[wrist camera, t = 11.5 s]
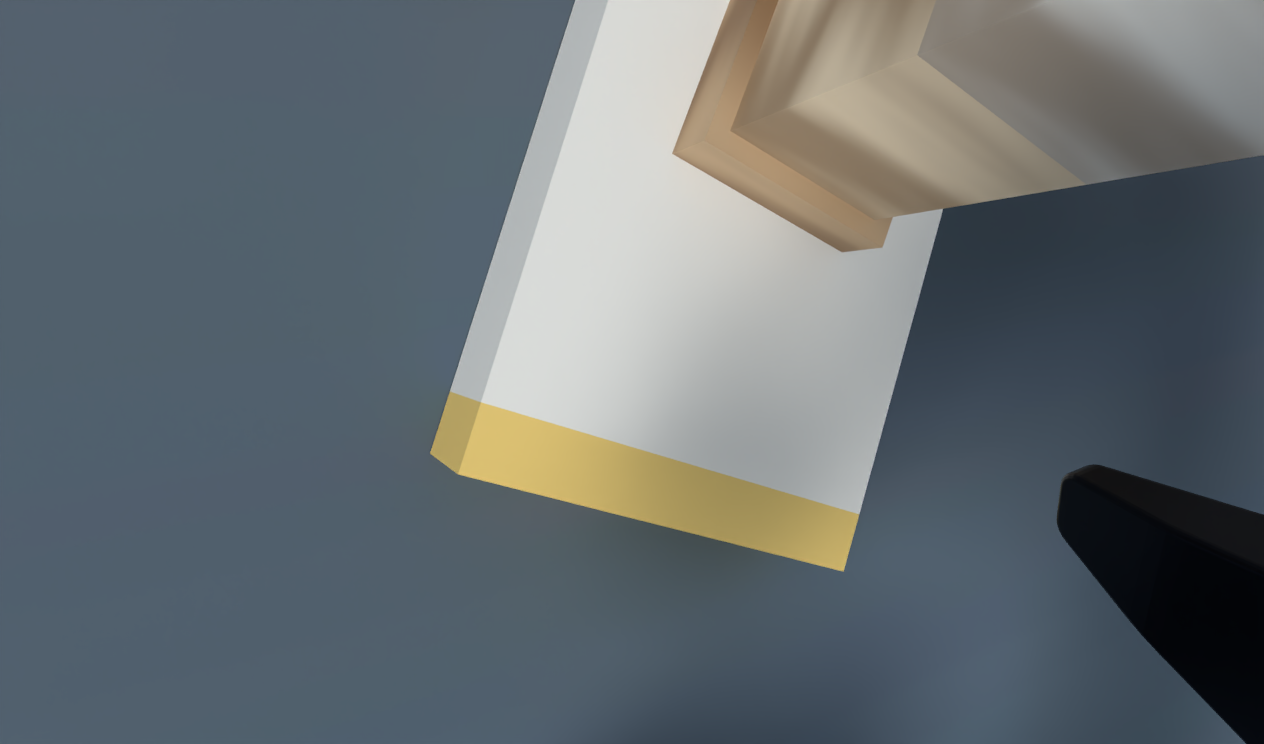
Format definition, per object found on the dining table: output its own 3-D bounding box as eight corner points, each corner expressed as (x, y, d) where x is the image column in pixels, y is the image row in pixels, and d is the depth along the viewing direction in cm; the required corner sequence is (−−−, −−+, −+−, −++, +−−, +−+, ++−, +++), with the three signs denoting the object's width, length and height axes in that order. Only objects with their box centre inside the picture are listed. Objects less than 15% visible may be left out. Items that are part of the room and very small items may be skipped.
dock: (777, 543, 24) (843, 571, 22) (429, 453, 20) (458, 474, 17) (930, 2, 26) (1010, -36, 23) (640, -202, 21) (697, -280, 18)
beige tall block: (842, 252, 21) (1525, 169, 10) (672, 153, 19) (1307, -105, 7) (906, 66, 22) (1621, -216, 10) (749, -52, 19) (1447, -581, 8)
